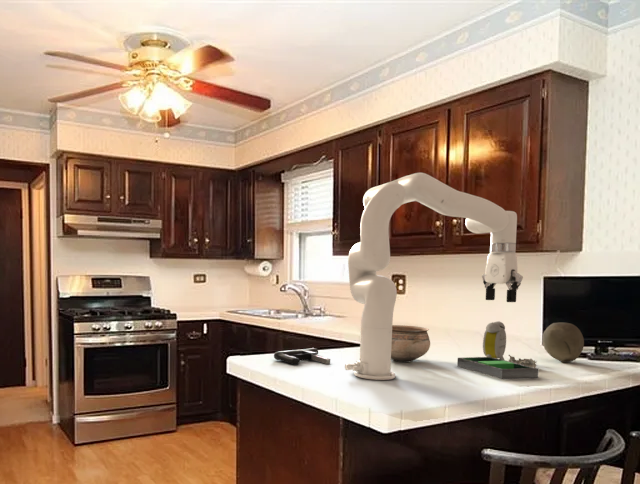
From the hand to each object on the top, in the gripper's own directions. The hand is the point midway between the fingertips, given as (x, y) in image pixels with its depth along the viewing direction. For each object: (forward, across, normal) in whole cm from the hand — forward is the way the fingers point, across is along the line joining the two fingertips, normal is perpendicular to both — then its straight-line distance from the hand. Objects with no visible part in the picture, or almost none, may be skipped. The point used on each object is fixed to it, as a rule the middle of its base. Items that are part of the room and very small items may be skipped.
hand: (500, 301), depth 178 cm
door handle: (+24, -29, -57) cm, 68 cm away
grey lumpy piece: (+24, -6, +15) cm, 29 cm away
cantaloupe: (+25, -17, +43) cm, 52 cm away
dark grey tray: (+24, 0, -1) cm, 24 cm away
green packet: (+24, 0, -1) cm, 24 cm away
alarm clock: (+24, -19, +15) cm, 34 cm away
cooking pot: (+24, -26, -20) cm, 40 cm away
